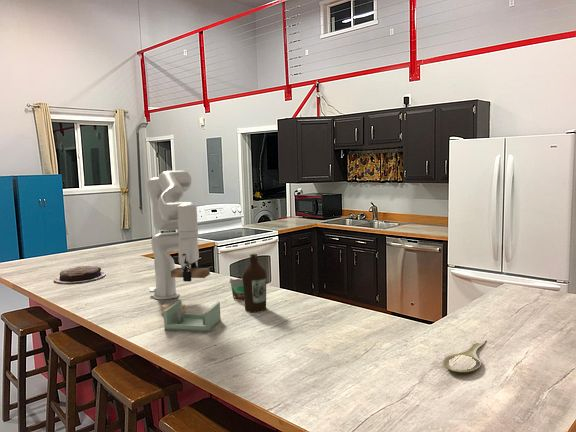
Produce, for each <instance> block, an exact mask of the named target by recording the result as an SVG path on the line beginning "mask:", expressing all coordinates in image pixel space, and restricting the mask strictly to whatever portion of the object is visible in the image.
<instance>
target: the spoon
mask: <svg viewBox="0 0 576 432" xmlns="http://www.w3.org/2000/svg"><path fill="white" fill-rule="evenodd" d="M484 343H485V342H483V343H476V344H474V343H473V345H472V346H471V347H470V348H469V349H467V350H466V351H463V352H460V353H454V354H450V355H448V356H446V357H444V359H443V362H442V363H443V364H442V365H443V366H444V368H446V369H447V370H449V371H451V372H456V373H471V372H474V371H477V370H478V369H480V368H481V366H482V361H481V360H480V358H479V357H478V355H477V351H478V349H479V348H481V347H482V345H483V344H484ZM485 344H486V343H485ZM485 344H484V345H485ZM484 345H483V346H484ZM458 355H465V356H469V357H472V359H474V360H475V361H476V365H475V366H474V367H473V368H471V369H467V370H458V369H455V368H453V367H451V366H450V365H449V360H450V359H452V358H454V357H455V356H458Z"/></svg>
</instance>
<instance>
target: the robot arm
mask: <svg viewBox="0 0 576 432" xmlns="http://www.w3.org/2000/svg"><path fill="white" fill-rule="evenodd" d="M146 183H147V184H146V191H147V193H148V196H149V198H150V200H151V203H152V221H153V227H154V229H155V230H156V231H159V232H161V231H162V233H157V234H155V235H153V236H152V237H151V241H150V243H151V249H152V254H153V261H154V264H153V265H154V277H155V287H149V288H148V289H149V293H153V295H152V296H153V298H154V299H156V300H171V299H175V298H177V297H179V296H180V291H177V286H176V277H171V271H172V270H174V269H176V268H175V267H176V266H175V260H174V258H173V257H172V256H171V254H169V253H173V252H174V253H175V252H178V264H179V265H180V268H182V271H183V279H182V280H183V282H190V283H191V282H192V278H191V271H190V268H199V266H198V265H199V264H198V263H199V259H200V255H199V254H200V252H199V242H198V239H199V231H198V230H199V224H198V210H197V208H198V207H197V205H196V204H195V203H193V202H191V201H181V202H180V200H181V199H182V198H183V197H184V194H185V193H186V192H187V191H188V190H189V189H190V188H191V186H192V176H191V175H190V173H189V172H188V171H187V170H166V171H163V172H160V173H159V175H158V177H157V176H156V177H152V178H149V179H148V180H147V182H146ZM165 231H166V232H165ZM167 231H175V232H167Z"/></svg>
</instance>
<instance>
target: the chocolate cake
mask: <svg viewBox="0 0 576 432" xmlns="http://www.w3.org/2000/svg"><path fill="white" fill-rule="evenodd" d="M105 276H106V272H105V271H102V268H101V267H100V266H97V265H96V266H91V265H81V266H76V267H73V268H71V267H70V268H69V269H64V270H61V271H60V272H59V275H58V276H56V277H54V278H53V281H54V282H55V284H60V285H61V284H63V285H64V284H65V285H72V284H83V283H87V282H95V281H97V280H101V279H103V278H104V277H105Z"/></svg>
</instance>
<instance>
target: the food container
mask: <svg viewBox="0 0 576 432" xmlns="http://www.w3.org/2000/svg"><path fill="white" fill-rule="evenodd" d="M229 284H230V286H231V293H232V299H233V298H234V299H233V300H235V299H236V301H245V300H244V288H243V277H241V278H236V279H234V278H230V279H229Z"/></svg>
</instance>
